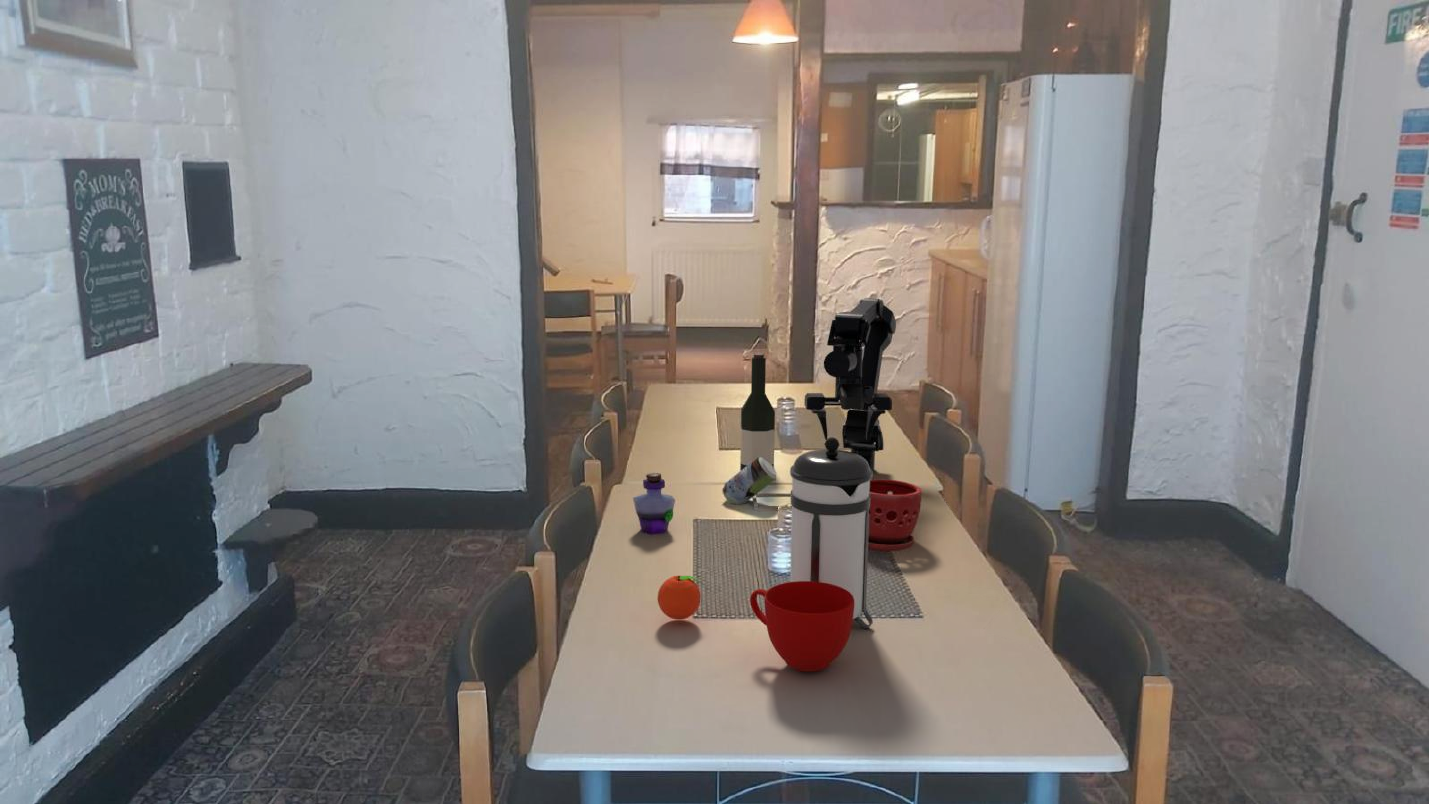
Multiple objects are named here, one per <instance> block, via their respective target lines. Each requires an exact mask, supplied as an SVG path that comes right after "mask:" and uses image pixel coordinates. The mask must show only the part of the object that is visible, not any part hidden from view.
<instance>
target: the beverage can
mask: <svg viewBox="0 0 1429 804" xmlns="http://www.w3.org/2000/svg"><path fill="white" fill-rule="evenodd" d="M776 480H777V471H776V469H775V466H774V467H773V466H772V464H771V463H770V462H769V461H768V460H767V459H765V458H761V457H758V458H757V459H755V460H754V461H753V462H752V463H750V464H749V465H748V466H746V467H745V468H744V469H743V470H740V471H739V472H737V473H736V474H735V475H734V476H732V477H731V478H730V479H728V480H727V481H726V482H725V483H724V485H723V488H722V489H721V491H722V494H723V497H724V498H725V499H726V501H727V502H728V503H729V504H730V505H741V504H746V503H747V502H748V501H749V500H751V499H753V498H752V497H754V496H755V495H756V494H757V493H761V492H762V490H764V489H766V488H767V487H768V486H769V485H771V484H772V483H773V482H775V481H776Z"/></svg>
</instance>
